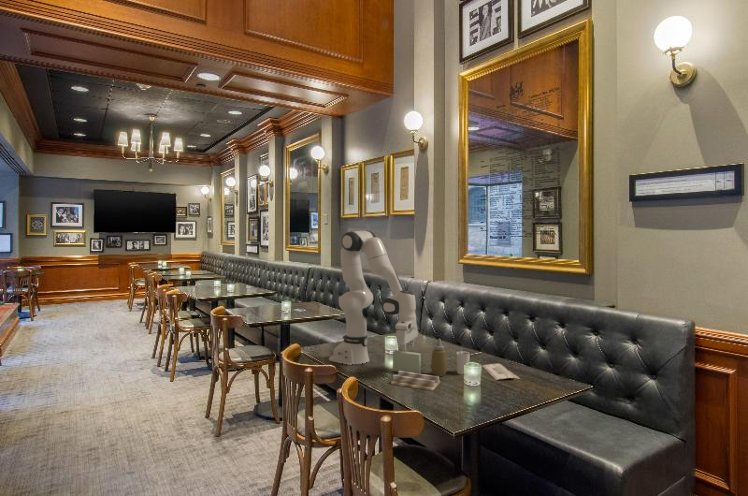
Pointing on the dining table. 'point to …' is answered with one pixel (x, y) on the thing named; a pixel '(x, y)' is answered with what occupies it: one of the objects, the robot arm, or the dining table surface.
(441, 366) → the squeeze bottle
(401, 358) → the door panel
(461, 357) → the grey cylinder
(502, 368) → the newspaper
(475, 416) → the dining table surface
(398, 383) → the door track
